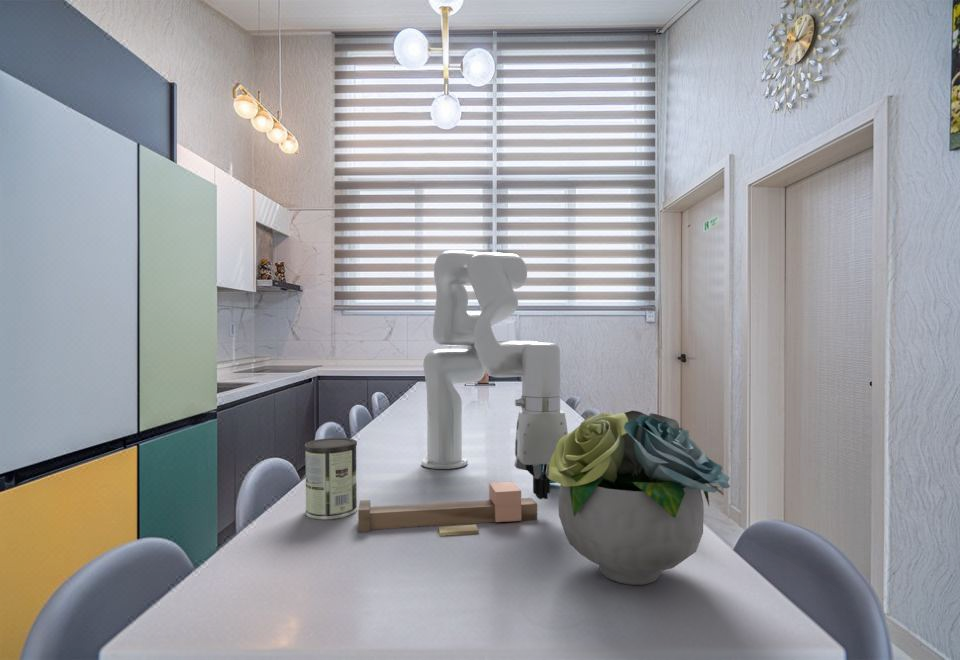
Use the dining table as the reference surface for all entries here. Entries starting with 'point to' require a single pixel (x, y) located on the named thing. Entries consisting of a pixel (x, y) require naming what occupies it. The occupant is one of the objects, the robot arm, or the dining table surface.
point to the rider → (506, 501)
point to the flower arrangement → (633, 493)
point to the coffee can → (331, 478)
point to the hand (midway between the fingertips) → (541, 496)
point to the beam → (436, 515)
